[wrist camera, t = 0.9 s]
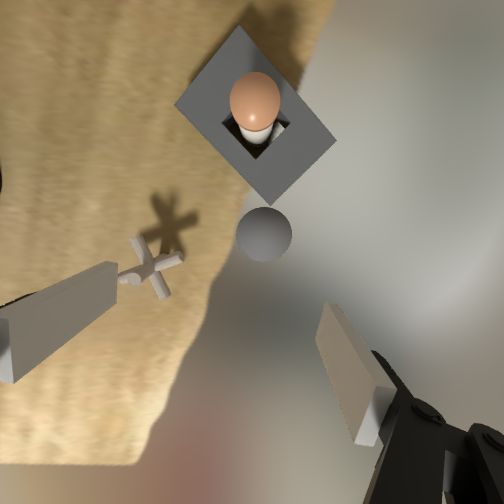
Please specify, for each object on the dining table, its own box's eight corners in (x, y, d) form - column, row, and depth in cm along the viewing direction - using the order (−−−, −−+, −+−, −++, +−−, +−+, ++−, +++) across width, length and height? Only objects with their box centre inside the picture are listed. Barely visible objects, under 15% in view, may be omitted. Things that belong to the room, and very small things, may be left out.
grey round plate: (225, 234, 39) (225, 234, 39) (264, 195, 37) (264, 195, 37) (263, 271, 41) (263, 272, 40) (302, 235, 39) (303, 235, 39)
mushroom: (232, 131, 35) (219, 101, 24) (256, 104, 34) (255, 59, 23) (256, 156, 36) (254, 140, 24) (280, 131, 35) (291, 101, 23)
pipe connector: (177, 220, 39) (151, 230, 29) (202, 274, 41) (184, 300, 31) (124, 241, 40) (81, 257, 30) (151, 293, 42) (119, 323, 33)
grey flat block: (184, 115, 35) (173, 104, 31) (241, 46, 33) (239, 24, 28) (269, 204, 38) (270, 206, 33) (327, 146, 35) (336, 140, 31)
